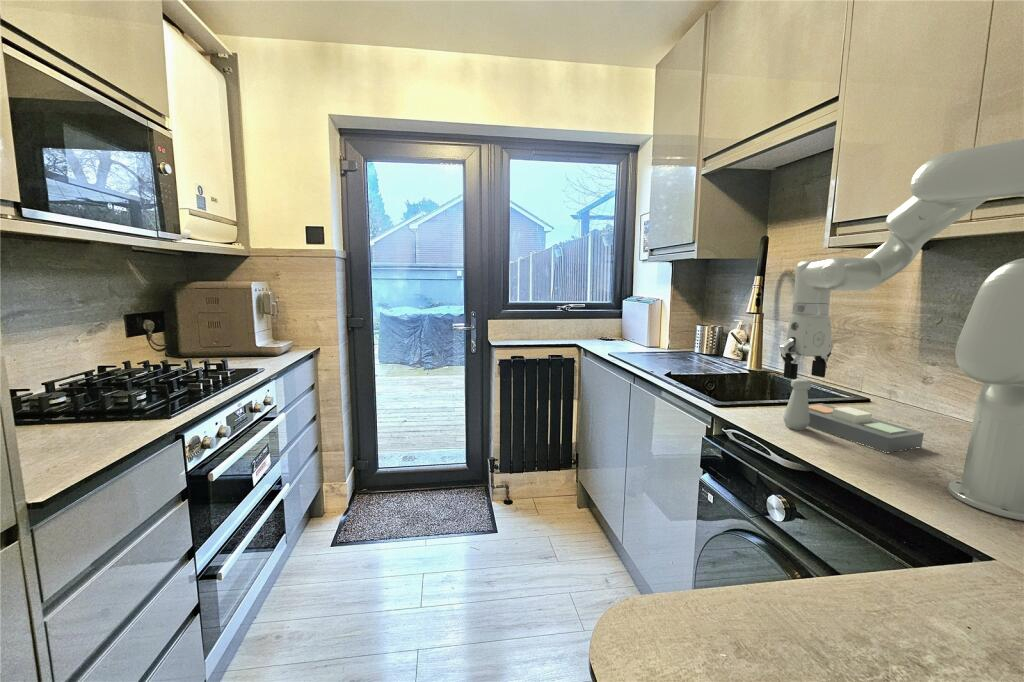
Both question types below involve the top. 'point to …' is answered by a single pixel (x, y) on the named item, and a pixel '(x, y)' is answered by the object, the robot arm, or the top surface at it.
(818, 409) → the key terracotta
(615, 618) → the top surface
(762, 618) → the top surface
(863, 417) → the key cream
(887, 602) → the top surface
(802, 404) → the salt shaker
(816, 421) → the keypad
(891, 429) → the key sage
